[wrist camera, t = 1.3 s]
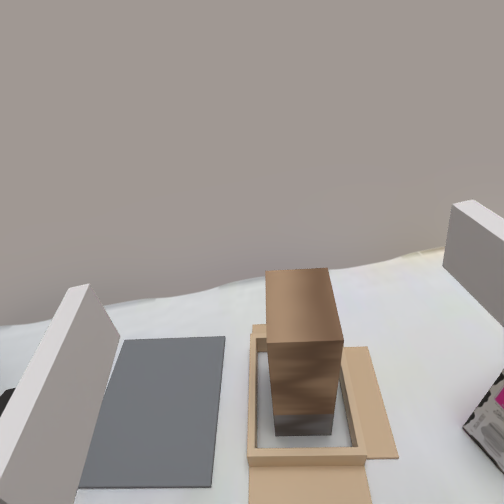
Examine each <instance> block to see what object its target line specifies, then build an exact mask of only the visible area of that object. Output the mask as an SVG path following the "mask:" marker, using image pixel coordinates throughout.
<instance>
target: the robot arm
mask: <svg viewBox="0 0 504 504" xmlns="http://www.w3.org/2000/svg"><path fill="white" fill-rule="evenodd" d="M443 267H444V268H445V269H446V270H447V271H448V272H449V273H450V274H451V275H452V276H453V277H454V278H455V279H456V280H457V281H458V282H459V283H460V284H461V285H462V286H463V287H464V288H465V289H466V290H467V291H468V292H469V293H470V294H471V295H472V296H473V297H474V298H475V299H476V300H477V301H478V302H479V303H480V304H481V305H482V306H483V307H484V308H485V309H486V310H487V311H488V312H489V313H490V314H491V315H492V316H493V317H494V318H495V319H496V320H497V321H498V322H499V323H500V324H501V325H502V326H503V327H504V219H503V218H502V217H500V216H498V215H497V214H495V213H494V212H492V211H491V210H489V209H487V208H486V207H484V206H483V205H481V204H480V203H478V202H476V201H475V200H469V201H464V202H460V203H455V204H452V208H451V214H450V220H449V227H448V234H447V240H446V246H445V253H444V259H443ZM119 339H120V335H119V333H118V331H117V330H116V328H115V326H114V324H113V323H112V321H111V319H110V317H109V316H108V314H107V312H106V311H105V309H104V307H103V305H102V304H101V302H100V300H99V299H98V297H97V295H96V293H95V292H94V290H93V288H92V286H91V285H90V284H85V285H81V286H76V287H71V288H69V289H68V291H67V293H66V294H65V296H64V298H63V300H62V302H61V304H60V306H59V308H58V310H57V311H56V313H55V315H54V317H53V319H52V321H51V323H50V325H49V326H48V328H47V330H46V332H45V334H44V336H43V338H42V340H41V342H40V343H39V345H38V347H37V349H36V351H35V353H34V355H33V357H32V358H31V360H30V362H29V364H28V366H27V368H26V370H25V372H24V374H23V375H22V377H21V379H20V381H19V383H18V385H17V387H16V388H13V389H8V390H6V391H5V392H4V393H3V394H2V395H1V396H0V504H73V503H74V500H75V496H76V493H77V489H78V486H79V482H80V478H81V475H82V471H83V468H84V464H85V461H86V457H87V453H88V450H89V446H90V443H91V439H92V436H93V432H94V428H95V425H96V421H97V418H98V414H99V411H100V407H101V403H102V400H103V396H104V393H105V389H106V385H107V382H108V378H109V375H110V371H111V368H112V364H113V360H114V357H115V353H116V350H117V346H118V343H119Z"/></svg>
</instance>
